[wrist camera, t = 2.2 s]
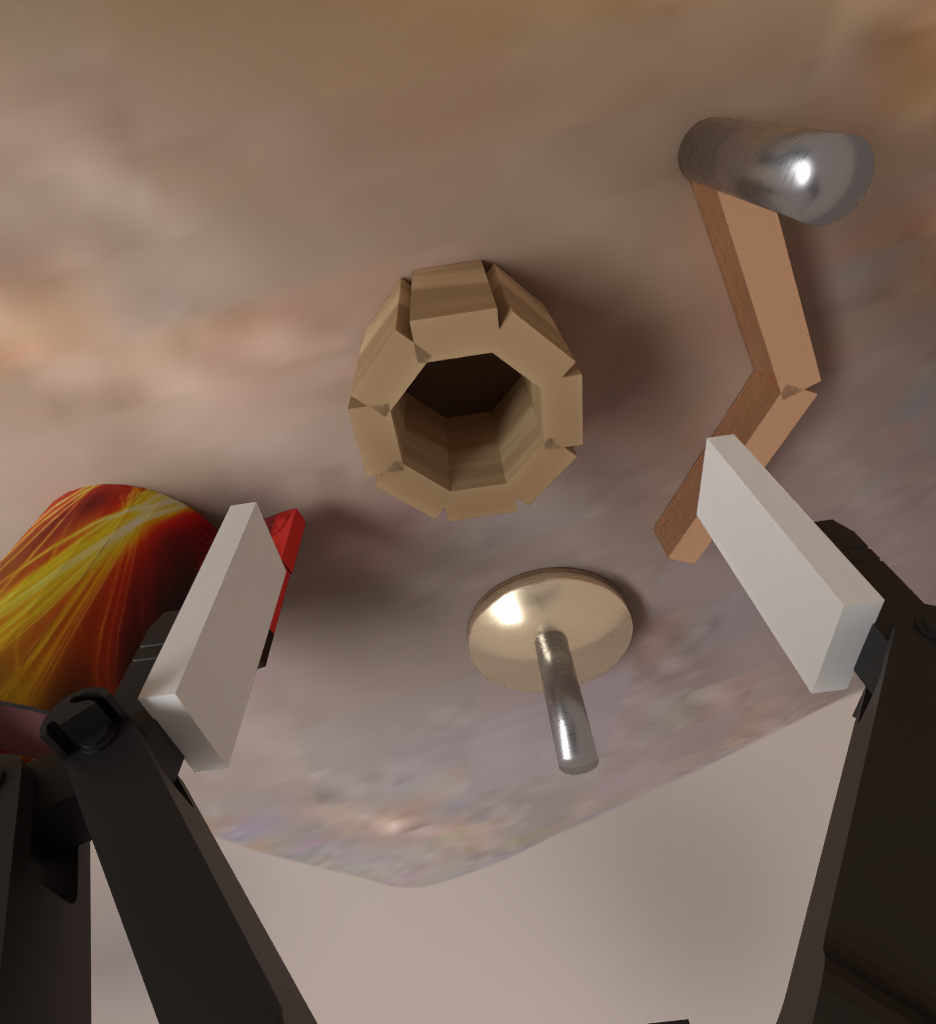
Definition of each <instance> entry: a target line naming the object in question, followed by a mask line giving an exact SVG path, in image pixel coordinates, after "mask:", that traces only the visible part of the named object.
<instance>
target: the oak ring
mask: <svg viewBox="0 0 936 1024" xmlns="http://www.w3.org/2000/svg"><path fill="white" fill-rule="evenodd" d="M486 353H493V354H495V355H496V356H497V357H499V358H500V359H501V360H503V361H504V362H506V363H507V364H508V365H510V366H511V367H512V368H514V369H515V370H516V371H518V372H519V373H520V374H521V377H520V378H519V379H518V380H517V381H516V382H515V384H514V385H513V386H512V387H511V388H510V389H509V391H508V392H507V393H506V394H505V395H504V396H503V398H502V399H501V400H500V401H499V402H498V403H497V405H496V406H495V407H494V408H493V409H492V411H488V412H481V413H474V414H468V415H461V416H454V417H447V418H445V417H443V416H442V415H440V414H439V413H437V412H436V411H434V410H433V409H431V408H430V407H428V406H426V405H425V404H423V403H422V402H420V401H419V400H417V399H416V398H414V397H413V396H411V395H410V394H408V393H406V390H407V388H408V387H409V386H410V384H411V383H412V382H413V380H414V379H415V378H416V376H417V375H418V374H419V372H420V371H421V370H422V368H423V367H424V365H425V364H426V363H427V362H432V361H439V360H446V359H452V358H459V357H466V356H472V355H479V354H486ZM350 396H351V398H350V402H349V407H348V411H349V415H350V418H351V422H352V425H353V429H354V432H355V436H356V439H357V443H358V446H359V450H360V453H361V457H362V460H363V464H364V467H365V471H366V474H367V476H370V475H377V477H376V485H375V486H377V487H378V488H380V489H382V490H384V491H386V492H387V493H389V494H391V495H393V496H395V497H396V498H398V499H400V500H402V501H404V502H405V503H407V504H409V505H411V506H413V507H414V508H416V509H418V510H420V511H422V512H423V513H425V514H427V515H429V516H431V517H432V518H434V519H436V517H437V516H438V515H439V514H440V513H441V512H442V511H443V510H444V509H445V508H446V513H447V518H448V521H454V520H461V519H468V518H475V517H482V516H489V515H496V514H503V513H510V512H517V507H516V498H517V499H519V500H520V501H522V502H524V503H525V504H527V505H530V504H531V503H532V502H533V501H534V500H535V499H536V498H537V497H538V496H539V495H540V494H541V493H542V492H543V491H544V490H545V489H546V488H547V487H548V486H549V485H550V484H551V483H552V482H553V481H554V480H555V479H556V478H557V477H558V476H559V475H560V474H561V473H562V472H563V471H564V470H565V469H566V468H567V467H568V466H569V465H570V464H571V463H572V462H573V461H574V460H575V459H576V458H577V455H576V452H575V450H574V447H573V446H577V445H583V406H582V373H581V371H580V370H579V368H578V366H577V364H576V361H575V359H574V357H573V356H572V354H571V352H570V350H569V348H568V347H567V345H566V343H565V341H564V339H563V337H562V336H561V334H560V332H559V330H558V328H557V327H556V325H555V323H554V321H553V319H552V317H551V316H550V314H549V312H548V310H547V308H546V307H545V305H544V304H543V303H541V302H540V301H539V300H538V299H536V298H535V297H534V296H533V295H532V294H530V293H529V292H528V291H527V290H526V289H524V288H523V287H522V286H521V285H519V284H518V283H517V282H516V281H515V280H513V279H512V278H511V277H510V276H508V275H507V274H506V273H505V272H504V271H502V270H501V269H500V268H499V267H498V266H496V265H495V264H493V265H492V267H491V268H490V269H489V271H488V272H487V273H485V270H484V267H483V264H482V261H481V260H477V261H471V262H464V263H458V264H451V265H445V266H438V267H432V268H425V269H419V270H412V285H410V284H409V283H408V282H406V281H405V280H404V279H402V278H401V279H400V280H399V282H398V283H397V285H396V286H395V288H394V289H393V291H392V292H391V294H390V295H389V297H388V298H387V300H386V302H385V303H384V305H383V306H382V308H381V309H380V311H379V312H378V314H377V315H376V317H375V318H374V320H373V321H372V323H371V324H370V326H369V327H368V329H367V330H366V332H365V334H364V338H363V343H362V347H361V351H360V356H359V360H358V364H357V369H356V373H355V377H354V382H353V386H352V390H351V394H350Z"/></svg>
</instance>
